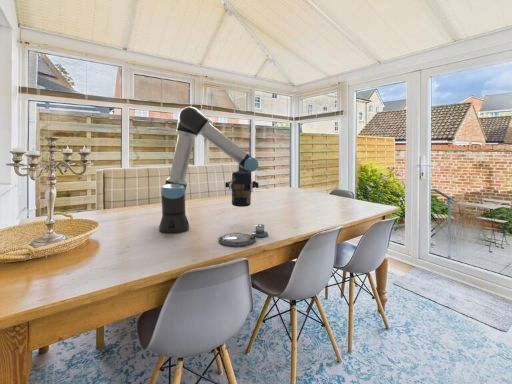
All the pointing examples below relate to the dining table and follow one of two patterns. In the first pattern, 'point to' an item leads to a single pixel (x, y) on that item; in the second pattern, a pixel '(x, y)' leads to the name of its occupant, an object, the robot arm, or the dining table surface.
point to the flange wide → (236, 240)
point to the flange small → (259, 231)
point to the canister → (241, 188)
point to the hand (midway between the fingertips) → (240, 187)
